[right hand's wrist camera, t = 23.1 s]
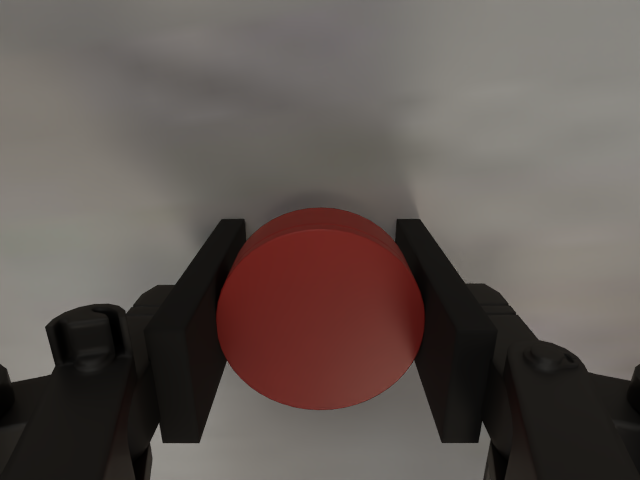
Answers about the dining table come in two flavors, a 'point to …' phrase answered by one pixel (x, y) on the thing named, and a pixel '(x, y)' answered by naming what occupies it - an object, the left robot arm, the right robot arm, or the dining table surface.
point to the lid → (320, 310)
